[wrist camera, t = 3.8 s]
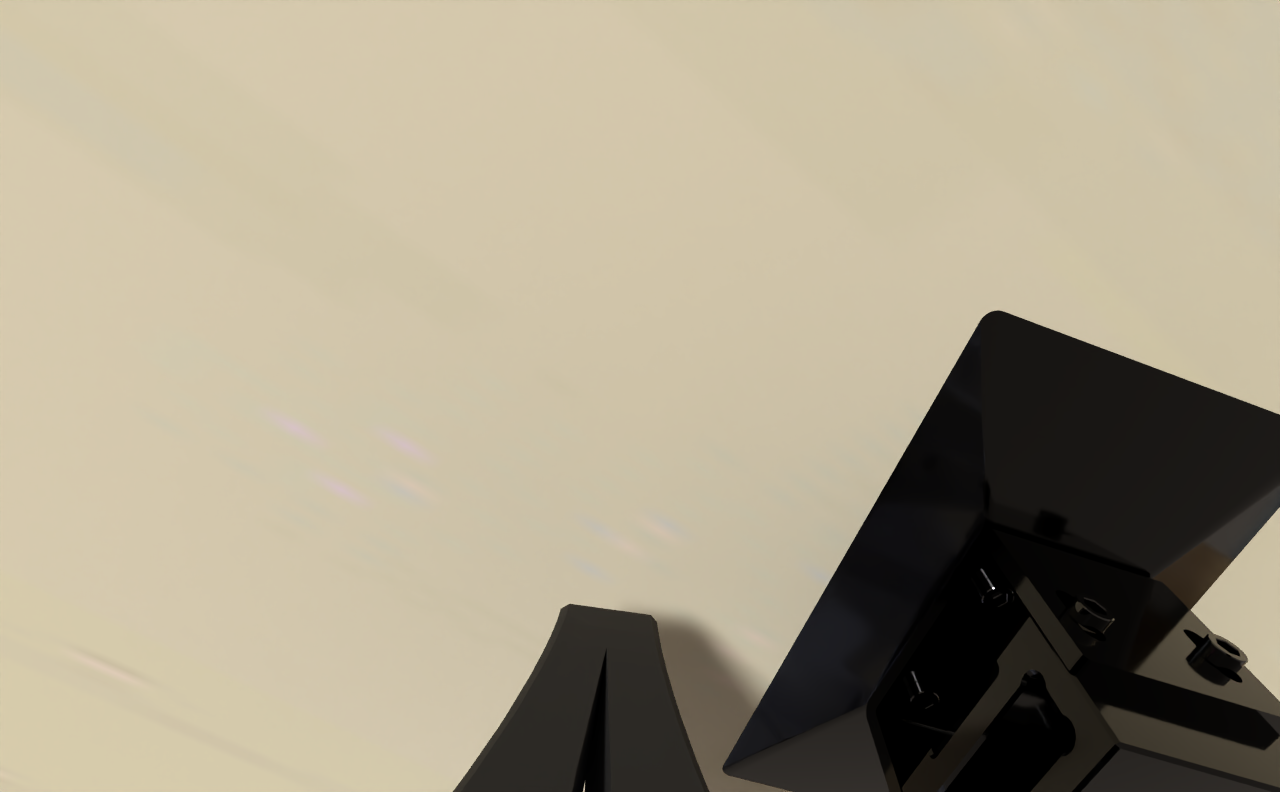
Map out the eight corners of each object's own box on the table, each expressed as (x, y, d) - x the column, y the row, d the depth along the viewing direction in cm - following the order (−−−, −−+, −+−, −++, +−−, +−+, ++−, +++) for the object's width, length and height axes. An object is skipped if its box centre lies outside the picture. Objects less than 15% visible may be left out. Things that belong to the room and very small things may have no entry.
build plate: (975, 193, 10) (1228, 283, 6) (1422, 358, 11) (1964, 553, 6) (670, 780, 15) (673, 1071, 11) (987, 862, 16) (1113, 1165, 12)
